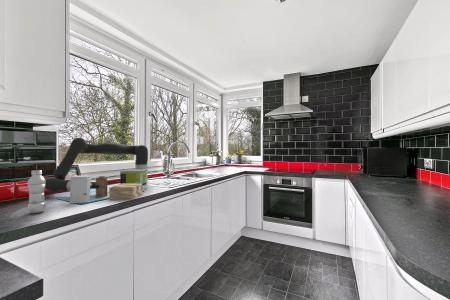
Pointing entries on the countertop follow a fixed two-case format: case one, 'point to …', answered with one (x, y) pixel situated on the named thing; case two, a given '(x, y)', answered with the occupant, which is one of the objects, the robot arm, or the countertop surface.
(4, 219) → the countertop surface
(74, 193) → the skincare box
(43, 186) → the plastic bottle
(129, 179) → the tea box
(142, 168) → the robot arm
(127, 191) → the plinth
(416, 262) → the countertop surface
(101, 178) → the walnut block
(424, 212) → the countertop surface
